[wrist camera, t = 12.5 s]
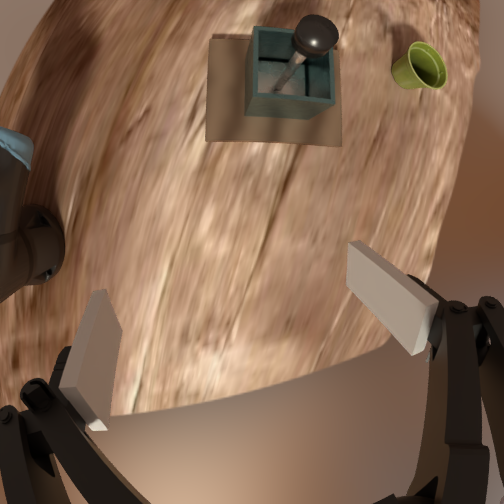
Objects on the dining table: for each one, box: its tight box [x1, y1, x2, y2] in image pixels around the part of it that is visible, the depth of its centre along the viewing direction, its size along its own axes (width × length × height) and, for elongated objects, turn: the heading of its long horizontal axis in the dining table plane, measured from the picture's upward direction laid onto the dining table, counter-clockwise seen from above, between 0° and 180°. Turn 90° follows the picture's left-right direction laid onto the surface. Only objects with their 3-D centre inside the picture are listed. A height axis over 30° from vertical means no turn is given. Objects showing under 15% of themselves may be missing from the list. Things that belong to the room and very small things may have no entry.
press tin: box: [244, 26, 335, 120], centre depth 36 cm, size 10×10×12 cm
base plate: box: [205, 39, 342, 147], centre depth 43 cm, size 22×18×2 cm
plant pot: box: [392, 42, 447, 90], centre depth 41 cm, size 9×9×9 cm
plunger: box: [258, 15, 339, 96], centre depth 31 cm, size 8×8×20 cm
